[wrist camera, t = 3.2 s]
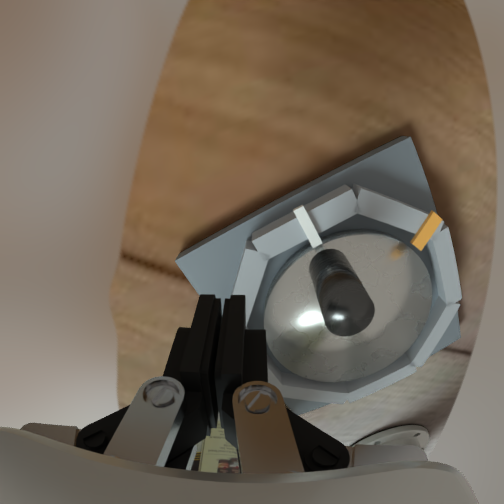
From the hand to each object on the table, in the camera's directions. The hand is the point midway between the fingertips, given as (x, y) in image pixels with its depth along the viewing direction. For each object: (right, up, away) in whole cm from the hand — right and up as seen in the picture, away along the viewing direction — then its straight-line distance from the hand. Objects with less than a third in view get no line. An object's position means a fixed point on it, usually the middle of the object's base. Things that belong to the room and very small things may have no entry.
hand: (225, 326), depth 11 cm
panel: (+8, -1, +10) cm, 13 cm away
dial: (+8, -1, +9) cm, 12 cm away
